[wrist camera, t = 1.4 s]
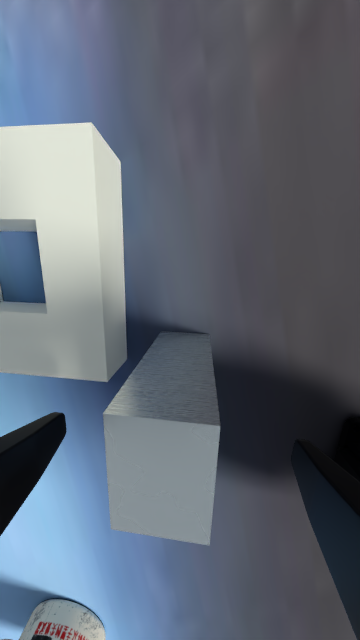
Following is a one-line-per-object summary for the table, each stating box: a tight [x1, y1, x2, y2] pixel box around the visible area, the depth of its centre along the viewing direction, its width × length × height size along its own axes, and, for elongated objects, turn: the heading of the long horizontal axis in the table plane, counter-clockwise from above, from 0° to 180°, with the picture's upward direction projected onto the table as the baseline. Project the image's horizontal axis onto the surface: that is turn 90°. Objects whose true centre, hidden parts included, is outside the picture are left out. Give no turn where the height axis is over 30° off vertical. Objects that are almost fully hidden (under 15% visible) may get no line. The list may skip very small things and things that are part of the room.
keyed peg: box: [103, 331, 220, 545], centre depth 10 cm, size 3×5×8 cm
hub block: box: [0, 123, 127, 382], centre depth 12 cm, size 12×12×3 cm
